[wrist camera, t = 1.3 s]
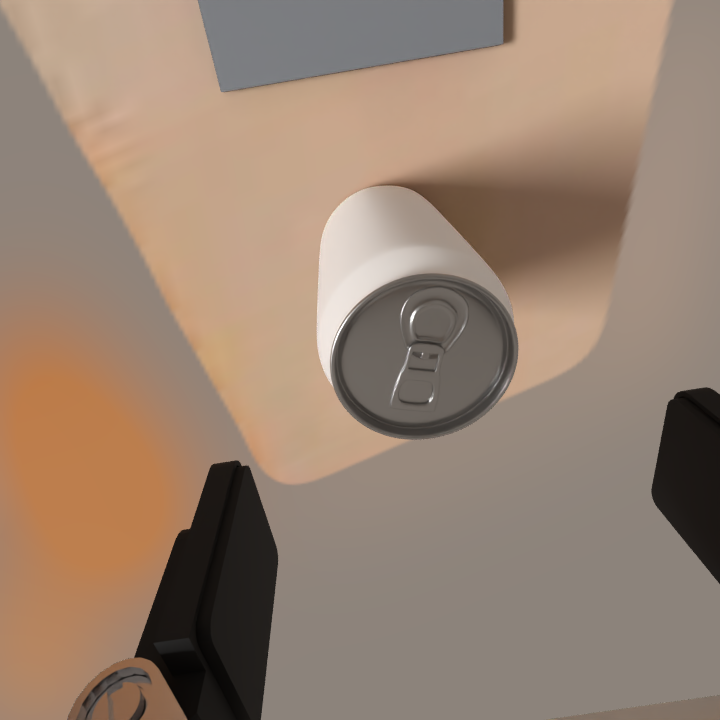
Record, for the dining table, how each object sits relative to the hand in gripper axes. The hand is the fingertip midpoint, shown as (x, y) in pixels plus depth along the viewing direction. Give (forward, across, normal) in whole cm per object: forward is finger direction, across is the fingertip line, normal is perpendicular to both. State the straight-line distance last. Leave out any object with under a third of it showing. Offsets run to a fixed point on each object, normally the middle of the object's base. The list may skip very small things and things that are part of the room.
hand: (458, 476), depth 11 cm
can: (+16, 0, -1) cm, 16 cm away
